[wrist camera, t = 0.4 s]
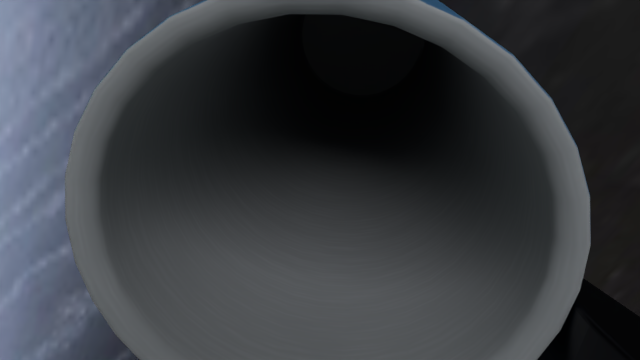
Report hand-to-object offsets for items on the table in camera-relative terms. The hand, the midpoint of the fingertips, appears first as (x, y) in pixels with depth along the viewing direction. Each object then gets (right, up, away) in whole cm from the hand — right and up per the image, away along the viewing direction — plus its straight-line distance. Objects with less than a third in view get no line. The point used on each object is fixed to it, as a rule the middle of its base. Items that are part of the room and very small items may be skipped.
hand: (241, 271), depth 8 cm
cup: (+3, +7, +13) cm, 15 cm away
